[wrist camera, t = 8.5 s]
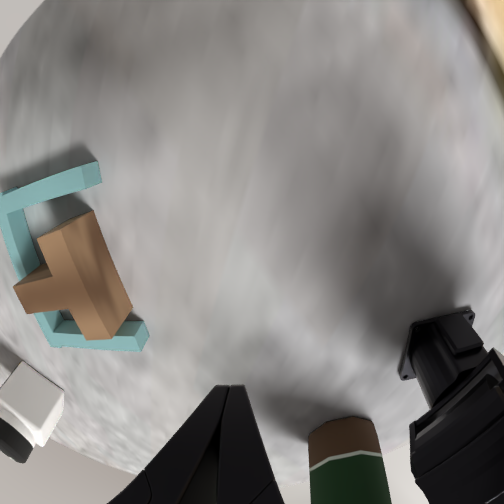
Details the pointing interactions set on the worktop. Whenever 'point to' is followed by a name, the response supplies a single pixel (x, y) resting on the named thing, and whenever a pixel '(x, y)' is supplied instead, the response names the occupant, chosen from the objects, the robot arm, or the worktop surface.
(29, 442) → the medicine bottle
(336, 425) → the beer bottle
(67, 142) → the worktop surface
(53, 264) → the t block
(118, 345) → the jig
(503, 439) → the robot arm
